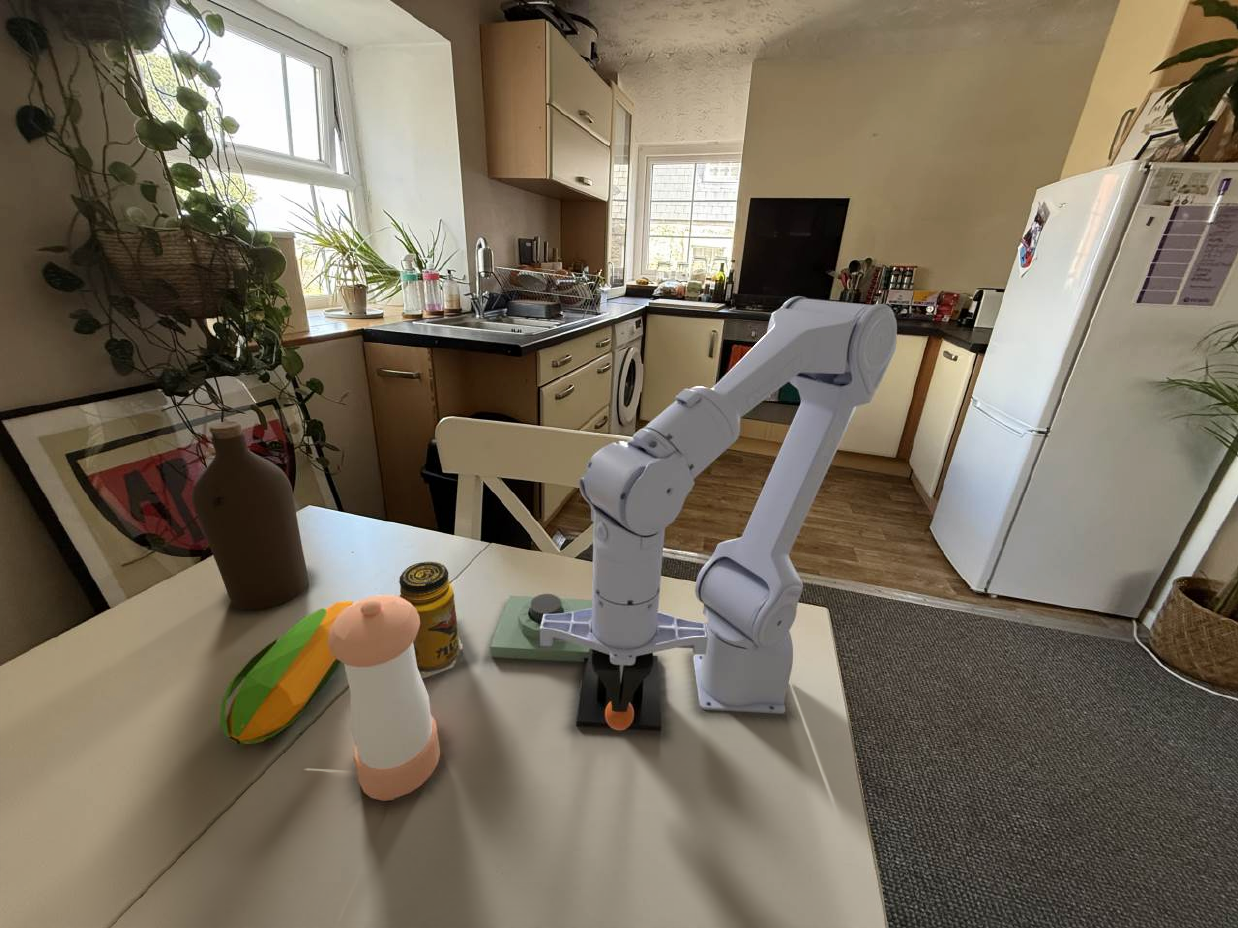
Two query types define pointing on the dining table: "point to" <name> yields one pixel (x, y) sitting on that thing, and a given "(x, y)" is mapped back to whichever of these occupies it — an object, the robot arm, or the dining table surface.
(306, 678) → the corn
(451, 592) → the condiment
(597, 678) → the switch bracket
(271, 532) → the olive oil
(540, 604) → the button
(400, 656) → the pepper shaker
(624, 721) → the switch lever
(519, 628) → the block
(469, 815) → the dining table surface
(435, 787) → the dining table surface
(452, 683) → the dining table surface
